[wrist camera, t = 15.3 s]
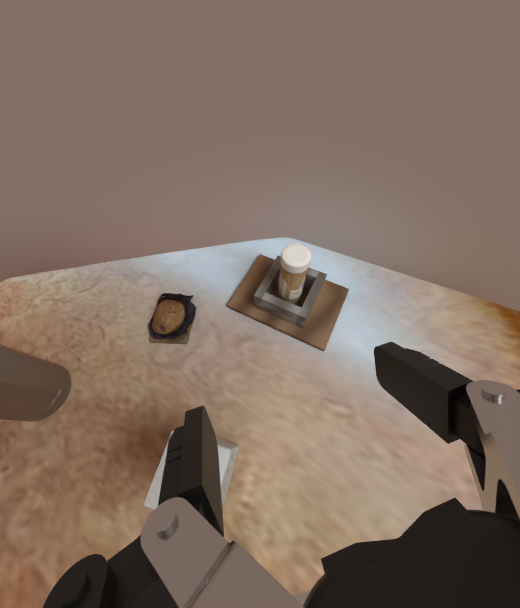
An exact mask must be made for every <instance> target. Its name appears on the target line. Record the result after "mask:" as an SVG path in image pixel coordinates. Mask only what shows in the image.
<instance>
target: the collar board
mask: <svg viewBox="0 0 520 608" xmlns="http://www.w3.org/2000/svg"><path fill="white" fill-rule="evenodd" d="M280 271H281V257H280V256H277V258H276V259H275V260H273V259H271V258H268V257H266V256H263V255H261V254H260V255H259V256H258V258H257V259H256V261H255V263H254V264H253V266H252V267H251V269H250V270H249V272H248V274H247V275H246V277H245V278H244V280H243V281H242V283H241V284H240V286H239V288H238V289H237V291H236V292H235V294H234V295H233V297H232V299H231V300H230V302H229V303H228V305H227V306H228V308H230V309H232V310H235V311H237V312H239V313H241V314H243V315H245V316H248V317H250V318H252V319H254V320H256V321H259V322H261V323H263V324H265V325H267V326H269V327H272V328H274V329H276V330H278V331H280V332H282V333H285V334H287V335H289V336H291V337H293V338H295V339H298V340H300V341H302V342H304V343H306V344H309V345H311V346H313V347H315V348H317V349H319V350H322V351H324V350H325V348H326V345H327V343H328V340H329V338H330V335H331V333H332V330H333V328H334V325H335V323H336V321H337V318H338V316H339V313H340V311H341V308H342V306H343V303H344V301H345V298H346V296H347V293H348V291H349V289H347V288H345V287H342V286H340V285H337V284H335V283H332V282H330V281H327V280H325V278H326V275H327V274H324V273H322V272H319V271H317V270H314V269H311V268H309V267H308V269H307V272H306V276H305V281H304V285H303V290H302V293H301V296H300V297H301V298H300V302H299V303H298V304H297V305H294V304H292V303H289V302H287V301H285V300H282V299H280V298H278V293H279V279H280Z"/></svg>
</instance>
